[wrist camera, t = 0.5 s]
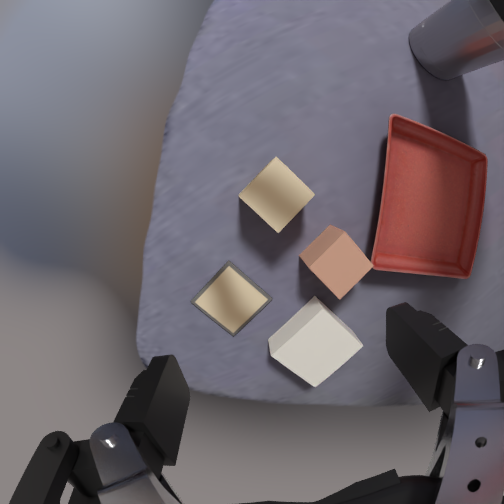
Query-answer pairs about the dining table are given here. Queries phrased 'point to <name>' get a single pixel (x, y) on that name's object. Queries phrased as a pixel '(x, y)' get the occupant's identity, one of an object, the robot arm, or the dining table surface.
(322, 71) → the dining table surface
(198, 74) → the dining table surface
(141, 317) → the dining table surface
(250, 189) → the maple cube
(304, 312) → the base slab
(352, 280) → the terracotta cube
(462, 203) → the plant saucer
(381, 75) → the dining table surface
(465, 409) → the robot arm
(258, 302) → the tile
